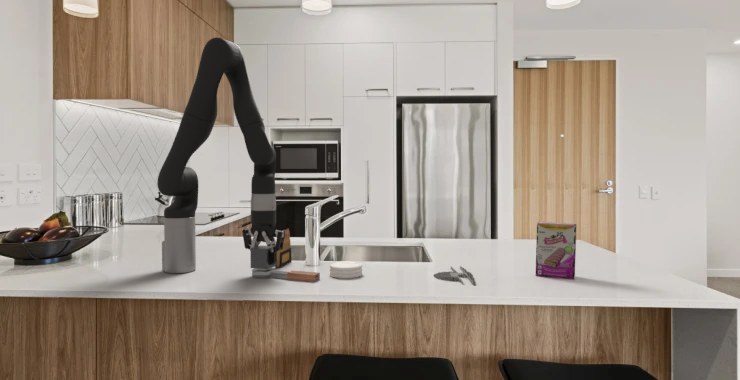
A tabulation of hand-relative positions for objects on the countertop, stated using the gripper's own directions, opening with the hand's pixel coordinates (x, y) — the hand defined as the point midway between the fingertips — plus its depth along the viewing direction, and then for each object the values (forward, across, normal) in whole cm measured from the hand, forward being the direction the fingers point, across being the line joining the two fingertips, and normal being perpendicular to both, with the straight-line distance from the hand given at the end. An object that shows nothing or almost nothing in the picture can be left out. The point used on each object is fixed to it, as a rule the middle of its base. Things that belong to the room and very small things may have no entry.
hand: (263, 263), depth 141 cm
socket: (+1, 0, 0) cm, 1 cm away
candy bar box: (+4, +84, +30) cm, 89 cm away
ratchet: (+4, +7, 0) cm, 8 cm away
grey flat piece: (+4, +56, +20) cm, 60 cm away
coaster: (+4, +23, +10) cm, 25 cm away
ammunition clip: (+4, -3, +17) cm, 18 cm away
